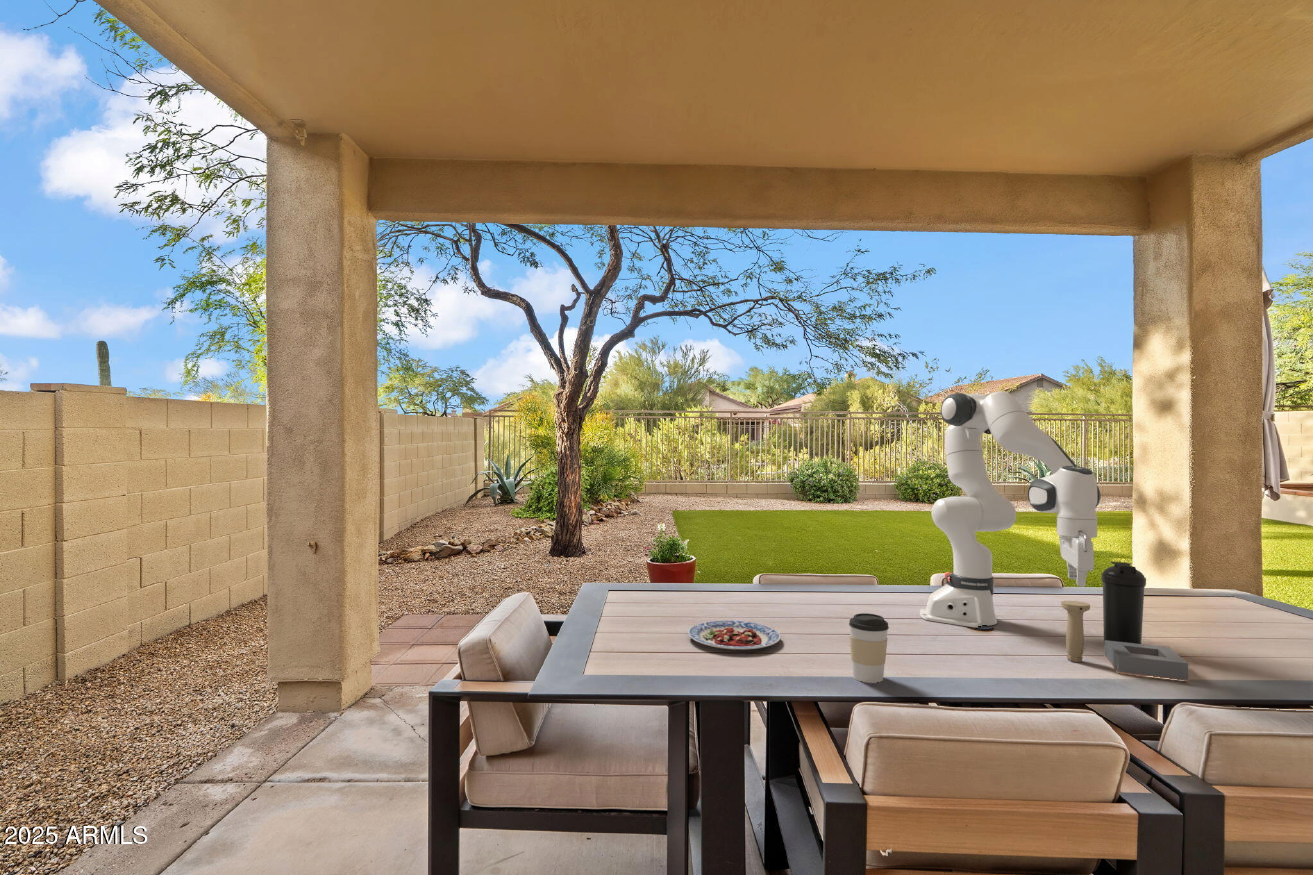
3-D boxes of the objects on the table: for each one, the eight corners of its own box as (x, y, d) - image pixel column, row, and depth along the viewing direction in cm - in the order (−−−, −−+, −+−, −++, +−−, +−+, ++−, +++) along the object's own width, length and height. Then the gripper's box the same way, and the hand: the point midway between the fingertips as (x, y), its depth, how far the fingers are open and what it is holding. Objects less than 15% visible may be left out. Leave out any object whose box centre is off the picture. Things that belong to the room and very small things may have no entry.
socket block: (1118, 673, 162) (1118, 655, 162) (1104, 657, 174) (1104, 640, 174) (1188, 682, 157) (1188, 663, 157) (1168, 664, 169) (1169, 647, 169)
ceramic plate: (790, 634, 191) (790, 624, 191) (766, 662, 168) (766, 650, 168) (707, 623, 202) (707, 613, 202) (673, 647, 179) (673, 636, 179)
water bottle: (1137, 643, 186) (1138, 562, 186) (1150, 654, 177) (1152, 569, 176) (1095, 639, 189) (1096, 559, 189) (1106, 649, 180) (1108, 566, 180)
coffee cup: (842, 671, 162) (843, 610, 161) (878, 670, 162) (879, 609, 162) (857, 685, 152) (857, 620, 152) (894, 684, 153) (895, 620, 153)
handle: (1093, 664, 168) (1094, 605, 168) (1067, 663, 169) (1068, 605, 168) (1081, 657, 173) (1082, 601, 173) (1056, 657, 173) (1057, 600, 173)
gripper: (1101, 534, 160) (1101, 591, 160) (1081, 525, 179) (1081, 576, 179) (1071, 533, 162) (1071, 589, 162) (1055, 523, 181) (1055, 574, 181)
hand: (1076, 582), depth 171 cm, fingers open, 8 cm apart
